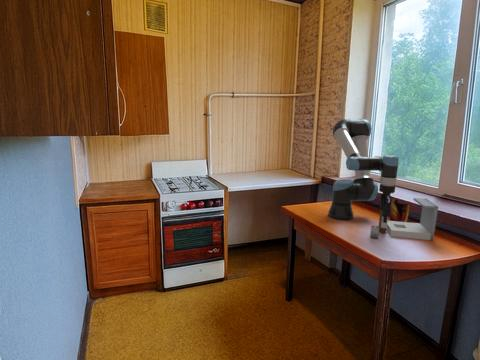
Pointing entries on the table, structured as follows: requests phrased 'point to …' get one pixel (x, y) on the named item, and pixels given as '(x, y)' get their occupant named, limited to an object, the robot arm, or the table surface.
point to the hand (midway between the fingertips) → (382, 226)
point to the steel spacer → (374, 232)
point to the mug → (399, 211)
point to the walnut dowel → (381, 230)
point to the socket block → (416, 229)
